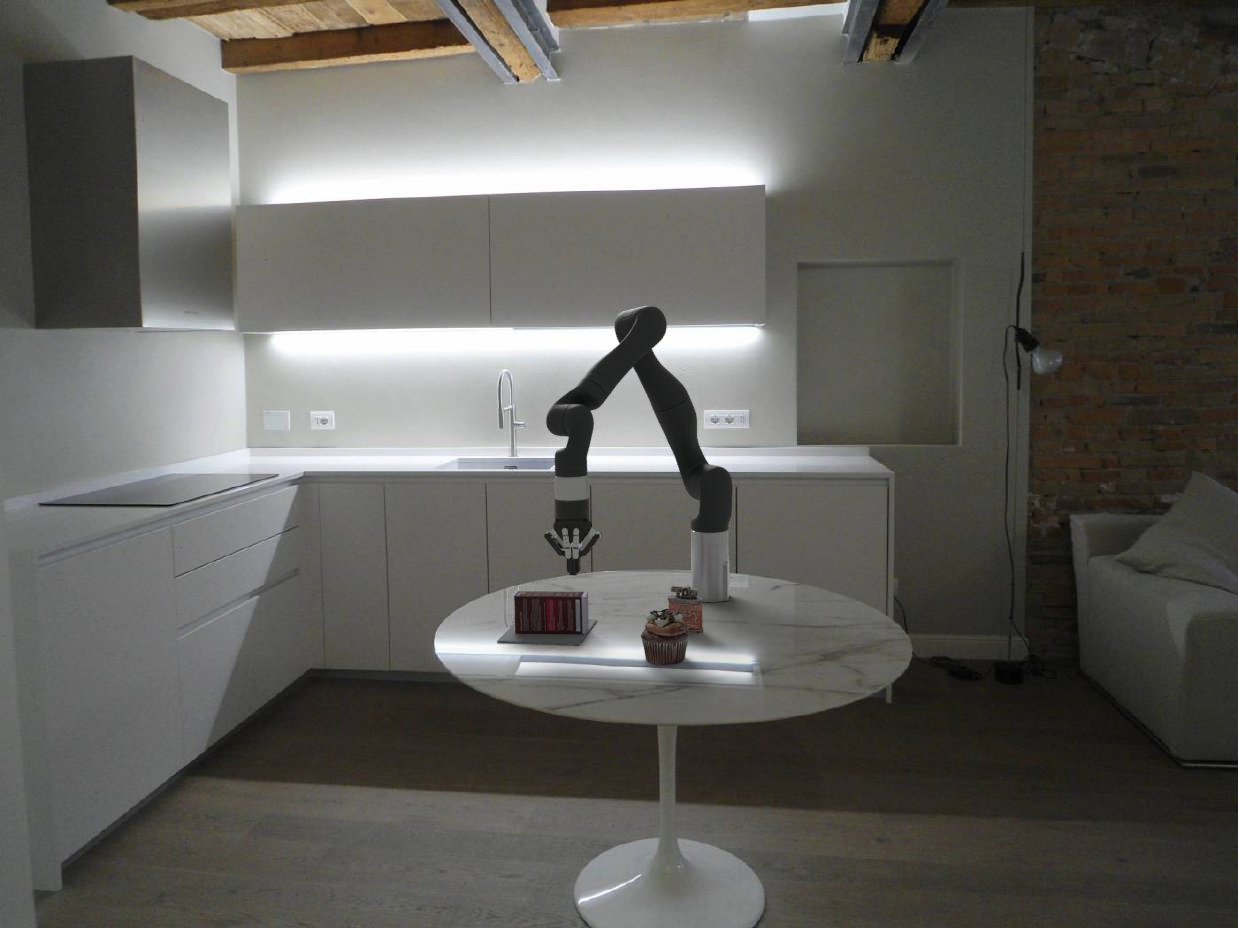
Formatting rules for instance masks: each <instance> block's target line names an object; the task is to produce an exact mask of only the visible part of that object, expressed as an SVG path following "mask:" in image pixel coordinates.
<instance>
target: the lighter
mask: <svg viewBox="0 0 1238 928" xmlns="http://www.w3.org/2000/svg"><path fill="white" fill-rule="evenodd" d="M670 592H671V593H675V594H672V595H671V594H670V595H667V601H668V609H669V610H670V613H671V612H672V613H678V614H681V615H682V621H683V623H684V624H685V625H686V630H687V632H688V635H689V634H690V635H692V634H693V635H701V634H703V633H704V627H703V626H704V625H703V624H704V623H703V622H704V621H703V603H704V602H703V598H700V597H697V594H698V589H695V588H692V586H690V585H686V586H684V587H683V586H680V585H671V587H670Z"/></svg>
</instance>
